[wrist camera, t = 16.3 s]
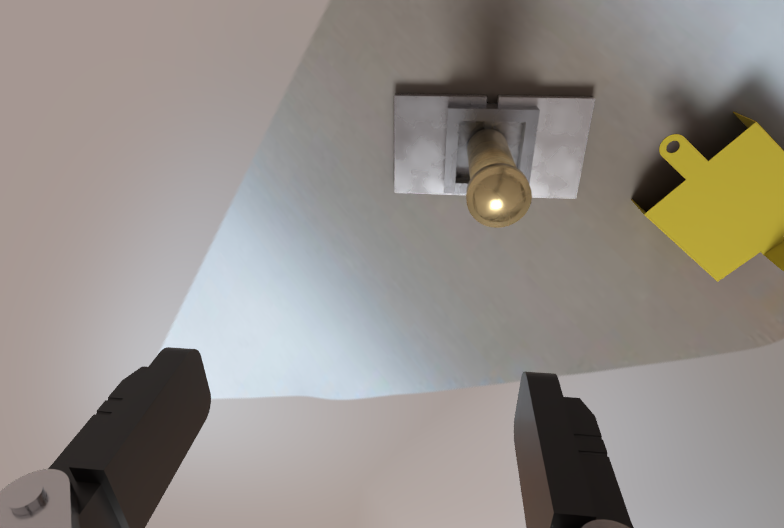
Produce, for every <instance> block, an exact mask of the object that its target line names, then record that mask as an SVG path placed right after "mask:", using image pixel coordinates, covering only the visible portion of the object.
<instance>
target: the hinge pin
mask: <svg viewBox="0 0 784 528" xmlns="http://www.w3.org/2000/svg"><path fill="white" fill-rule="evenodd" d="M467 155H468V164H469V173H470V181H469V183H468V186H467V191H466V199H467V206H468V209H469V211H470V213H471V215H472V216H473V217H474V218H475V219H476V220H477V221H478V222H480V223H481V224H483V225H486V226H489V227H505V226H509V225H511V224H513V223H515V222H517V221H518V220H520V219H521V218H522V217H523V216H524V215H525V213H526V212H527V211H528V209H529V207H530V204H531V199H532V192H531V188H530V185H529V182H528V180H527V178H526V176H525V175H524V173H523V172H522V171H521V170H519V169H518V168H517V167H516V165H515V162H514V160H513V157H512V155H511V152H510V149H509V147H508V144H507V141H506V139H505V137H504V136H503V135H502V134H501V133H500V132H498V131H496V130H493V129H484V130H481V131H478V132H477V133H475V134H474V135H473V136H472V137H471V139H470V140H469V143H468V146H467Z"/></svg>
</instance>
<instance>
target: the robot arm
mask: <svg viewBox="0 0 784 528" xmlns="http://www.w3.org/2000/svg"><path fill="white" fill-rule="evenodd" d="M210 404H211V394H210V390H209V386H208V382H207V378H206V374H205V370H204V366H203V362H202V358H201V355H200V353H199V351H198V350H196V349H184V348H169V347H168V348H164V349H163V350H162V351H161V352H160V353H159V354H158V355H157V357H156V358H155V359H154V360H153V362H152V363H151V365H150V366H149V367H141V368H140V369H138V370H137V371H135V372H134V373H132V374H131V375H129V376H128V377H127V378H125V379H124V380H122V381H121V383H120V384H119V385H118V386H117V387H116V389H115V390H114V391H113V392H112V393H111V394H110V396H109V397H108V401H105V402H104V403H103V404H102V405H101V406H100V408H99V409H98V410H97V414H96V415H93V416H92V417H91V418H90V420H89V421H88V422H87V423H86V424H85V426H84V427H83V428H82V429H81V430H80V432H79V433H78V434H77V435H76V436H75V438H74V439H73V440H72V441H71V442H70V444H69V445H68V446H67V447H66V448H65V449H64V451H63V452H62V453H61V454H60V456H59V457H58V458H57V459H56V460H55V461H54V463H53V464H52V465H51V466H50V467H49V468H48V469H44V470H39V471H35V472H32V473H29V474H27V475H25V476H22V477H20V478H19V479H17V480H15V481H14V482H12V483H11V484H9V485H8V486H6V487H5V488H4V489H2V490H1V491H0V528H145V526H146V525H147V523H148V521H149V519H150V518H151V516H152V514H153V512H154V511H155V509H156V507H157V505H158V503H159V502H160V500H161V498H162V496H163V495H164V493H165V491H166V489H167V488H168V485H169V484H170V482H171V481H172V479H173V477H174V475H175V473H176V472H177V470H178V468H179V466H180V464H181V463H182V461H183V459H184V458H185V456H186V454H187V452H188V450H189V449H190V447H191V445H192V443H193V442H194V439H195V438H196V436H197V435H198V433H199V431H200V429H201V427H202V426H203V424H204V422H205V420H206V418H207V416H208V413H209V409H210ZM601 437H602V436H601V433H600V430H599V427H598V424H597V421H596V418H595V416H594V414H592V412H591V411H590V410H589V409H588V408H587V406H586V405H585V404H584V403H583V402H582V400H581V399H580V398H570V397H563V395H562V391H561V387H560V384H559V380H558V377H557V375H556V374H551V373H535V372H523V374H522V377H521V382H520V389H519V394H518V400H517V406H516V412H515V419H514V442H515V450H516V457H517V464H518V471H519V478H520V485H521V492H522V499H523V506H524V513H525V520H526V527H527V528H634V527H633V525H632V523H631V521H630V518H629V515H628V512H627V509H626V506H625V503H624V500H623V497H622V494H621V491H620V488H619V486H618V483H617V480H616V477H615V474H614V471H613V468H612V465H611V462H610V459H609V457H607V450H606V448H605V444H604V442H603V440H602V438H601Z"/></svg>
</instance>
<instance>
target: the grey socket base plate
mask: <svg viewBox="0 0 784 528" xmlns="http://www.w3.org/2000/svg"><path fill="white" fill-rule="evenodd" d="M594 103H595V98H594V97H592V96H528V95H498V99H497V103H487V95H459V94H395V96H394V149H395V193H415V194H445V195H466V191H467V186H468V183H469V181H470V173H469V164H468V155H467V146H468V143H469V140H470V139H471V137H472V136H473V135H474V134H475V133H477V132H478V131H481V130H484V129H493V130H496V131H498V132H500V133H501V134H502V135H503V136H504V137H505V139H506V141H507V144H508V147H509V149H510V152H511V155H512V157H513V160H514V162H515V165H516V167H517V168H518V169H519V170H521V171H522V172H523V173H524V175H525V176H526V178H527V180H528V182H529V185H530V188H531V192H532V197H536V198H566V199H576V196H577V191H578V186H579V181H580V175H581V170H582V165H583V160H584V155H585V150H586V144H587V139H588V134H589V129H590V124H591V119H592V113H593V108H594Z"/></svg>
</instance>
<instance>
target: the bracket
mask: <svg viewBox="0 0 784 528" xmlns="http://www.w3.org/2000/svg"><path fill="white" fill-rule="evenodd" d="M733 113H734V114H735V115H736V116H737V117H738V118H739V119H740V120H741V121H742V122H743V123H744V125H745V126H746V127H747V128H748V129H746V130H745V131H744V132H743V133H742V134H740V135H739V136H738V137H737V138H736V139H734V140H733V141H732V142H731V143H730V144H728V145H727V146H726V147H725V148H724V149H722V150H721V151H720V152H719V153H717V154H716V155H715V156H714V157H713V158H711V159H710V160H709V161H707V160H706V159H705V158H704V157H703V156H702V155H701V154H700V153H699V152H698V151H697V150H696V149H695V148H694V147H693V146H692V145H691V144H690V143H689V142H688V141H687V140H686V139H685V138H684V137H683V136H682V135H679V134H673V135H670V136H668V137H666V138H665V139H664V140H663V141H662V142H661V144H660V147H659V152H660V154H661V156H662V157H663V158H664V159H665V160H666V161H667V162H668V163H669V164H670V165H671V166H672V167H673V168H675V169H676V170H677V171H678V172H679V173H680V174H681V175H682V176H683V177H684V178H685V179H686V180H685V181H684V182H682V183H681V184H680V185H679V186H678V187H676V188H675V189H674V190H673V191H671V192H670V193H669V194H668V195H667V196H665V197H664V198H663V199H662V200H661V201H659V202H658V203H657V204H656V205H655V206H653V207H652V208H651V209H650V210H648V211H647V212H645V211H644V210H643V209H642V208H641V207H640V206H639V205H638V204H636V203H635V202H634V201H633V200H632V199H631V200H632V201H633V202H634V204H635V205H636V206H637V207H638V208H639V209H640V210H641V212H642V213H643V214H644V215H645V216H646V217H647V218H648V219H649V220H651V221H652V222H653V223H654V224H655V225H656V226H657V227H658V228H659V229H660V230H662V231H663V232H664V233H665V234H666V235H667V236H668V237H669V238H670V239H671V240H672V241H674V242H675V243H676V244H677V245H678V246H679V247H680V248H681V249H682V250H683V251H685V252H686V253H687V254H688V255H689V256H690V257H691V258H692V259H693V260H694V261H695V262H697V263H698V264H699V265H700V266H701V267H702V268H703V269H704V270H705V271H706V272H708V273H709V274H710V275H711V276H712V277H713V278H714V279H715V280H716V281H717V282H718V281H719V280H721V279H722V278H724V277H725V276H727V275H728V274H729V273H731V272H732V271H734V270H735V269H737V268H738V267H739V266H741V265H742V264H744V263H745V262H747V261H748V260H749V259H751V258H752V257H754V256H755V255H757V254H758V253H759V252H761V253H762V254H763V255H764V256H766V257H767V258H768V259H769V260H770V261H772V262H773V263H774V264H775V265H776V266H777V267H779V268H780V269H781V270H783V271H784V150H783V149H782V148H781V147H780V146H779V145H778V144H777V143H776V142H775V141H774V140H773V139H772V138H771V136H770V135H769V134H768V133H767V132H766V131H765V130H764V129H763V128H762V127H761V126H760V125H759V124H758V123H757V122H756V121H754V120H752V119H750V118H747V117H745V116H743V115H740V114H738V113H736V112H733ZM671 141H678V142H679V144H680V147H679V149H678V150H677V151H676V152H674V153H669V152H667V150H666V147H667V145H668V143H670V142H671Z"/></svg>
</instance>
